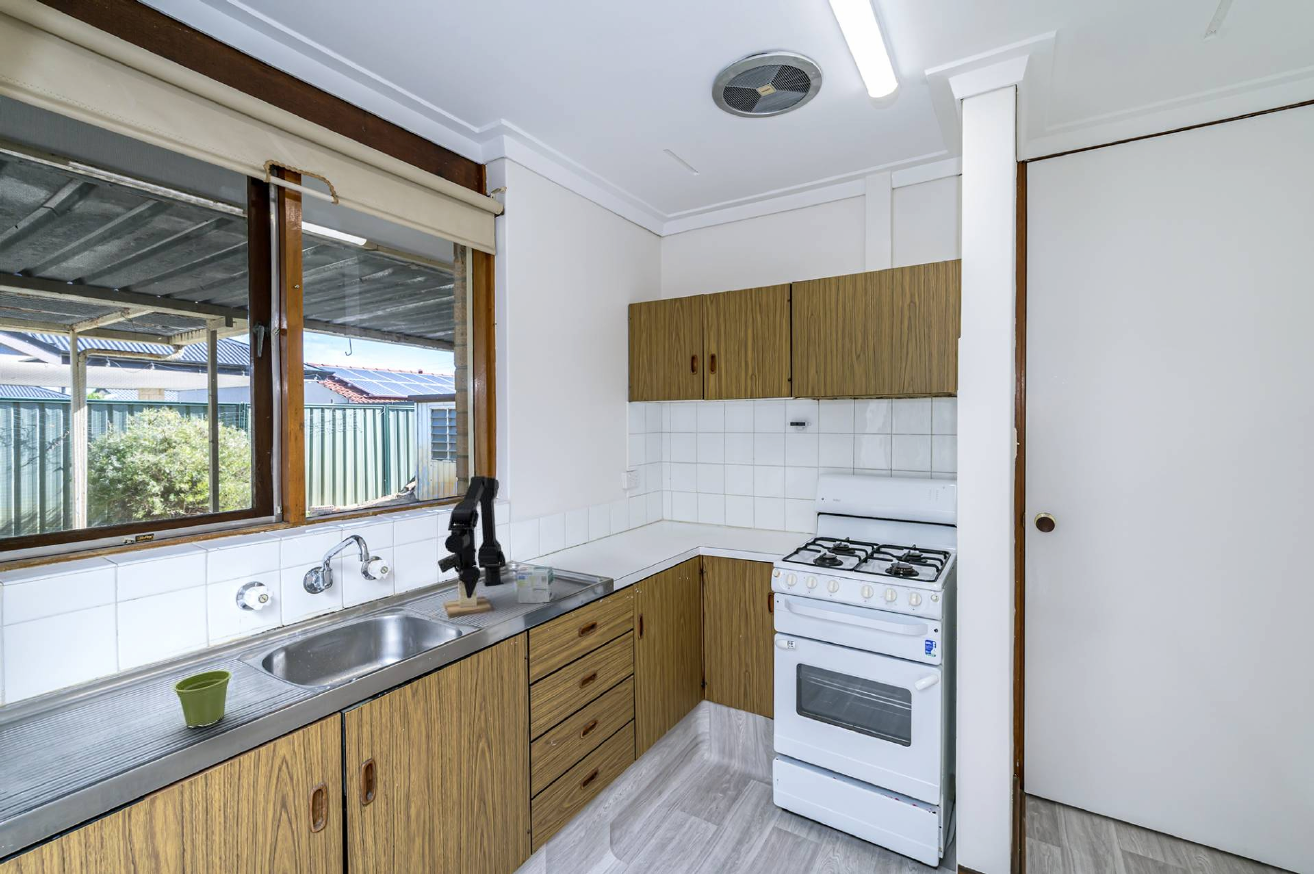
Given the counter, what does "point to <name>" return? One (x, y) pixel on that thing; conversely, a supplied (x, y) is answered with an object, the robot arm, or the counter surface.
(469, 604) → the beech block
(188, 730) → the counter surface
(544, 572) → the light bulb box
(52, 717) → the counter surface
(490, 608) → the tan wooden panel
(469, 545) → the robot arm
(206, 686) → the plant pot
